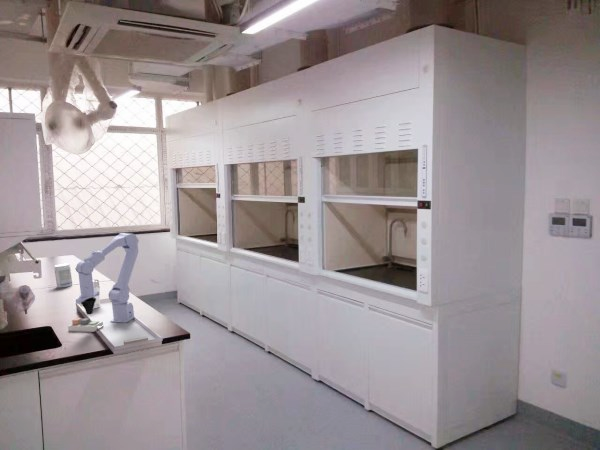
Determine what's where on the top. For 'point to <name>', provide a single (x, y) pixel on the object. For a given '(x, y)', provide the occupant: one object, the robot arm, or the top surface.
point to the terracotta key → (76, 321)
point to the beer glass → (97, 288)
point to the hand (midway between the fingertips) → (89, 314)
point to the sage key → (93, 323)
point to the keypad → (84, 327)
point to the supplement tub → (63, 275)
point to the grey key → (85, 321)
